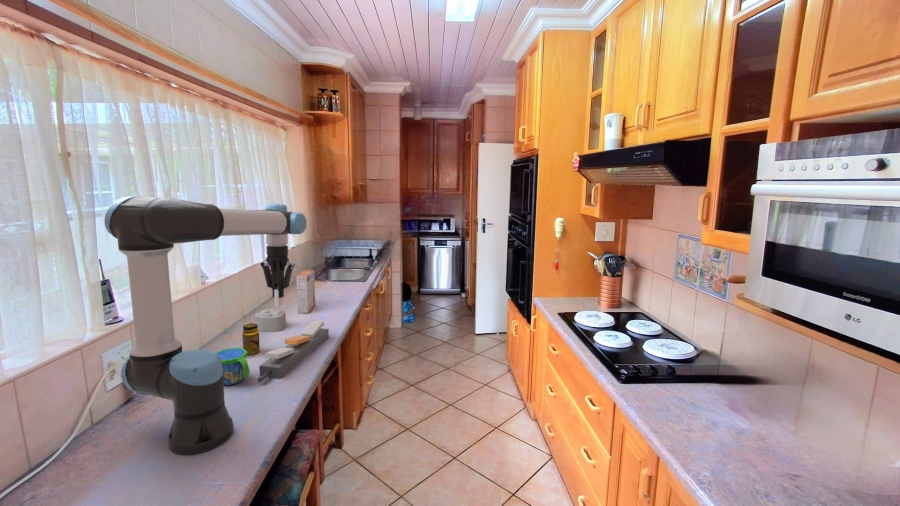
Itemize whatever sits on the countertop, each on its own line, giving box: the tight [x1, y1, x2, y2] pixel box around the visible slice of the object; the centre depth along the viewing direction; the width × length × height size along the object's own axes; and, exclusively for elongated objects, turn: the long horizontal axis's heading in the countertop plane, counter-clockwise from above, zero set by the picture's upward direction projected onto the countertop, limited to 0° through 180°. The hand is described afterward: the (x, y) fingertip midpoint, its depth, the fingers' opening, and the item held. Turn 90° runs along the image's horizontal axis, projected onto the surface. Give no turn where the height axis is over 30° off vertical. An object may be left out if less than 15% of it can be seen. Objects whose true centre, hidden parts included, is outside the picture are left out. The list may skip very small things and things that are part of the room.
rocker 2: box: [284, 334, 310, 345], centre depth 164 cm, size 11×5×2 cm, turn 172°
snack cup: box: [215, 347, 251, 386], centre depth 141 cm, size 16×10×10 cm
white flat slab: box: [300, 319, 325, 338], centre depth 176 cm, size 11×5×2 cm, turn 172°
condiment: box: [241, 322, 263, 358], centre depth 163 cm, size 7×8×12 cm
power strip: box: [257, 327, 330, 383], centre depth 162 cm, size 46×8×4 cm, turn 172°
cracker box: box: [295, 269, 316, 314], centre depth 220 cm, size 14×6×21 cm, turn 3°
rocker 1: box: [265, 347, 294, 359], centre depth 151 cm, size 11×5×2 cm, turn 172°
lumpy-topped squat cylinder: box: [254, 308, 287, 333], centre depth 192 cm, size 10×13×9 cm
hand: (278, 305), depth 156 cm, fingers closed
